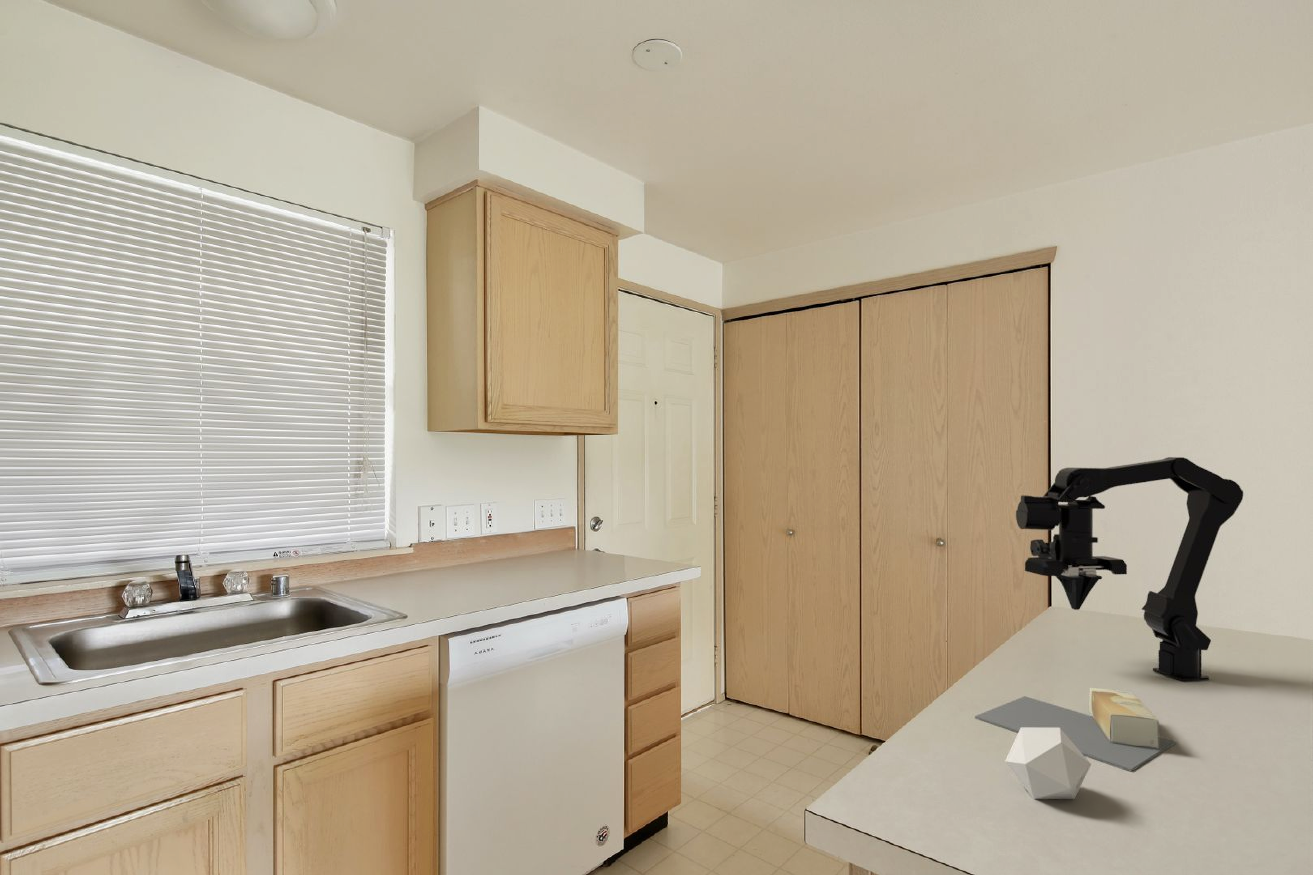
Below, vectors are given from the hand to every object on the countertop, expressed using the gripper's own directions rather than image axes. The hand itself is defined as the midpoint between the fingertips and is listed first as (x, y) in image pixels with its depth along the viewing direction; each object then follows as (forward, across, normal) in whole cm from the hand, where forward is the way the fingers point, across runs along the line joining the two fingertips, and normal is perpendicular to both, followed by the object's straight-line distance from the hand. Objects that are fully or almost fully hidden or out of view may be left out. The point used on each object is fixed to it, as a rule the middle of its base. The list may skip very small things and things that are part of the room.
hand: (1075, 609), depth 135 cm
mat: (+12, +24, +25) cm, 37 cm away
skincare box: (+10, +13, +22) cm, 27 cm away
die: (+12, +42, +42) cm, 61 cm away
